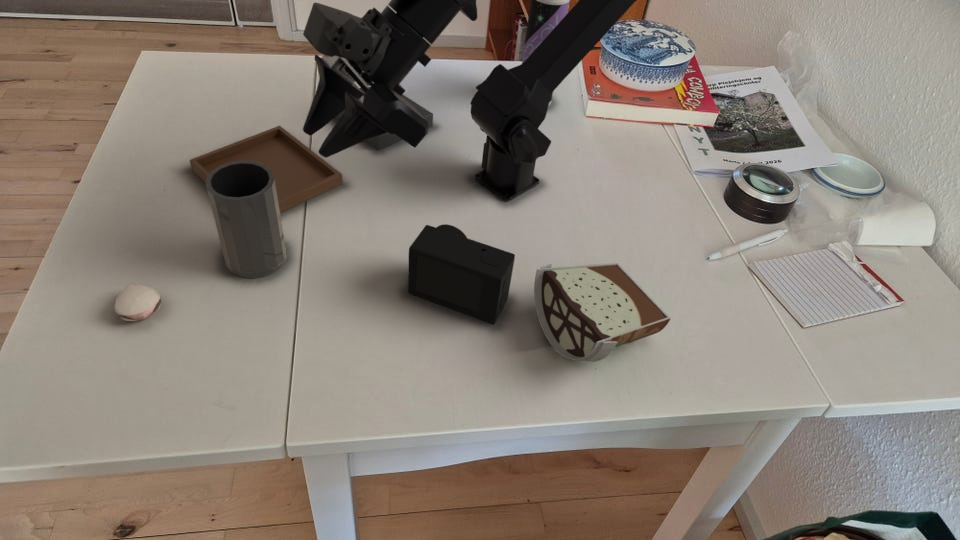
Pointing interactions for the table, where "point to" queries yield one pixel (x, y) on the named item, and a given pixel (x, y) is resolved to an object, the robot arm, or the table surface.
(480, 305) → the digital camera
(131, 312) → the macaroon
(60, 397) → the table surface
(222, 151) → the tray
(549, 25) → the spray can
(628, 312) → the food container
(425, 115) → the push button switch
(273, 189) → the cup
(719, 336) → the table surface
